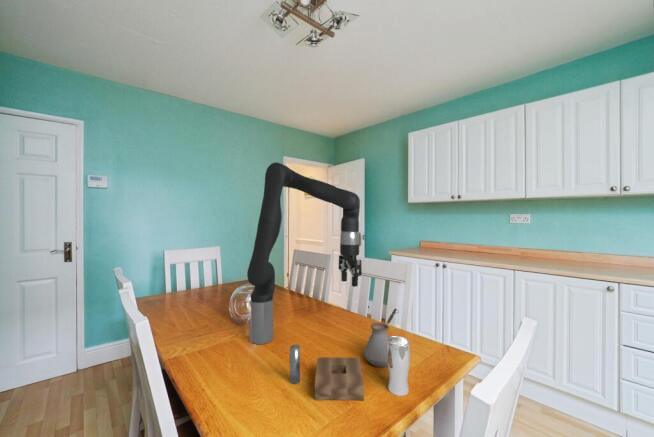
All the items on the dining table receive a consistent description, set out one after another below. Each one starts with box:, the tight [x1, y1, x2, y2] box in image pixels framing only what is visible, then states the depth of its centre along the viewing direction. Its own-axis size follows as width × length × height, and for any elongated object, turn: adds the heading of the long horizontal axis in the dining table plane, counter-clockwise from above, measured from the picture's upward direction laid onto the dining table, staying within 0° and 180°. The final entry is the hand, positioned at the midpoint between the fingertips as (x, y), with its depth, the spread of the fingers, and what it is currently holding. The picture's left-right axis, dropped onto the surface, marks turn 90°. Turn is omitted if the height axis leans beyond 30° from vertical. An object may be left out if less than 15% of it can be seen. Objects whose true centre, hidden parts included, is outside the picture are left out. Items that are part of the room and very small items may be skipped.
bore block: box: [314, 357, 365, 401], centre depth 86 cm, size 14×14×5 cm
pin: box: [289, 344, 301, 385], centre depth 88 cm, size 3×3×11 cm
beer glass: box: [386, 335, 411, 397], centre depth 83 cm, size 7×7×15 cm
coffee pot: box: [363, 308, 400, 368], centre depth 103 cm, size 21×12×15 cm, turn 143°
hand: (349, 283), depth 109 cm, fingers open, 8 cm apart
